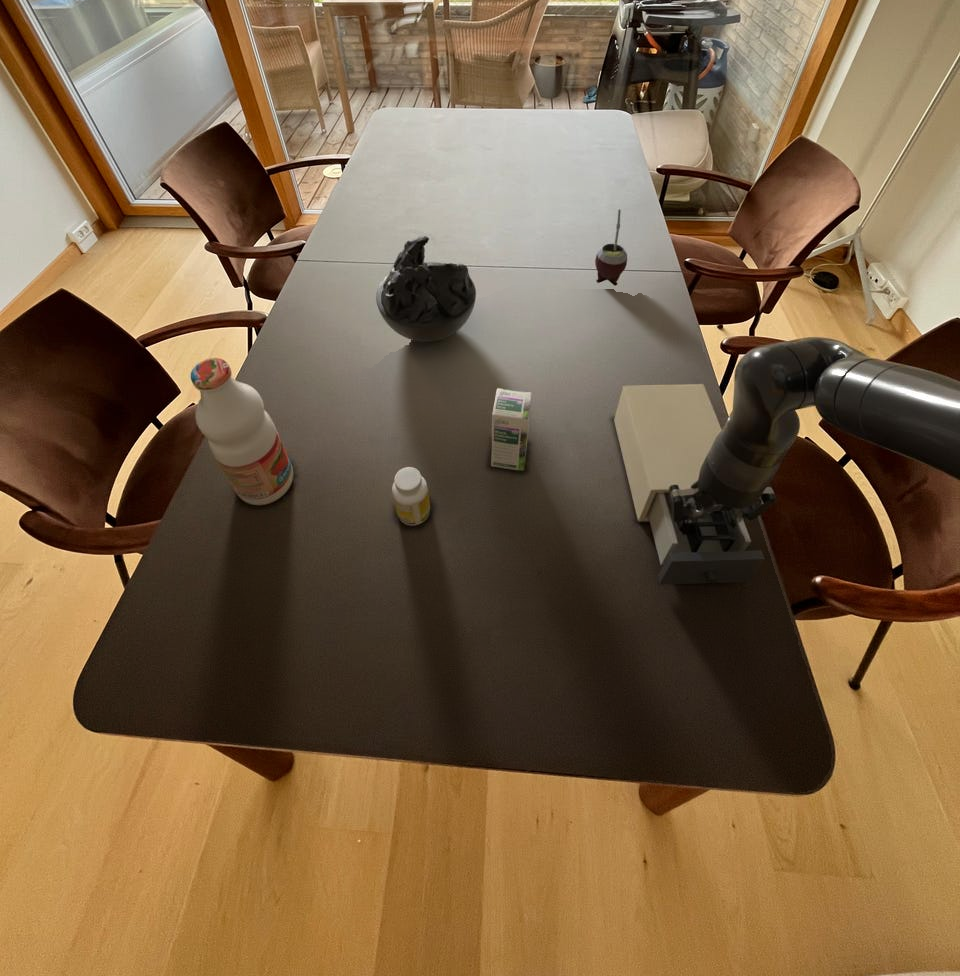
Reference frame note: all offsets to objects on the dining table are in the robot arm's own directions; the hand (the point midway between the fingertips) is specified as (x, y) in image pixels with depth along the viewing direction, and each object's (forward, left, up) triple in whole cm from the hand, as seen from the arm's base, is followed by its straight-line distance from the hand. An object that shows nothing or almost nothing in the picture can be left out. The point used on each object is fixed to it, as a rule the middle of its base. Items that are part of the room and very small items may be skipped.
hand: (702, 527), depth 82 cm
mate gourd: (+66, 0, -7) cm, 66 cm away
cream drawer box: (+15, 0, -7) cm, 16 cm away
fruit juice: (+14, +67, -7) cm, 69 cm away
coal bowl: (+50, +41, -7) cm, 65 cm away
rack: (0, 0, 0) cm, 0 cm away
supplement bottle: (+8, +42, -7) cm, 44 cm away
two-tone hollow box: (+3, 0, -6) cm, 7 cm away
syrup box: (+18, +26, -7) cm, 33 cm away
